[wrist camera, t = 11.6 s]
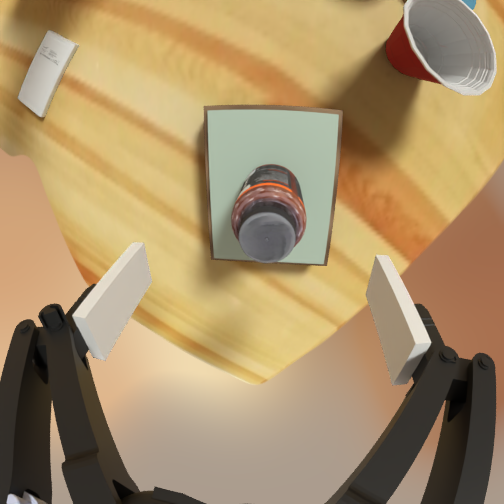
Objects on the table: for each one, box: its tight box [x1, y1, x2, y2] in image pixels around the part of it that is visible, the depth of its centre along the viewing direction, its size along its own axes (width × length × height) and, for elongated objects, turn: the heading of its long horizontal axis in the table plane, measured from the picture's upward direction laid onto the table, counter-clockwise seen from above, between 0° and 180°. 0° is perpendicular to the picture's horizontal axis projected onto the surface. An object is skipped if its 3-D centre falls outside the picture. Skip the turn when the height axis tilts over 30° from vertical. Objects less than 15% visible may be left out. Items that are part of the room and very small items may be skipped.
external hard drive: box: [18, 30, 79, 117], centre depth 27 cm, size 2×8×12 cm
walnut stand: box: [204, 105, 343, 266], centre depth 32 cm, size 18×14×5 cm
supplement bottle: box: [231, 164, 306, 263], centre depth 25 cm, size 6×6×11 cm
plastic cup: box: [386, 0, 496, 95], centre depth 19 cm, size 11×11×12 cm
